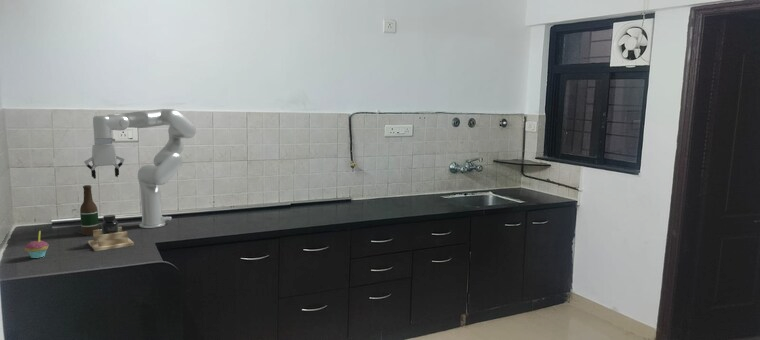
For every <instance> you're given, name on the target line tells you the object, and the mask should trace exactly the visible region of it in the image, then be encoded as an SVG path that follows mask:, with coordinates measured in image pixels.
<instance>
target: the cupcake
mask: <svg viewBox="0 0 760 340" xmlns="http://www.w3.org/2000/svg"><path fill="white" fill-rule="evenodd" d="M41 234H42V233H41V230H39V231H38V238H37V240H34V241H33V240H32V241H29V242H28V243H27V244H25V246H24V251H25V252H27V253H28V254H29V256H30V258H39V257H43V256H44V257H46V252H47V250H48V249H49V246H50V245H49V243H48V242H46V241H44V240H41ZM44 257H43V258H44Z"/></svg>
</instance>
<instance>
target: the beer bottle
mask: <svg viewBox="0 0 760 340" xmlns="http://www.w3.org/2000/svg"><path fill="white" fill-rule="evenodd" d="M82 188H83V201H82V203H81V205H80V209H79V210H80V211H79V214H80V216H79V217H80V227H81V229H80V230H81V234H82V236H84V235H86V236H87V237H89V236H93V230H100V224H99V212H98V211H99V210H98V207H97V205H96V203H95V202H94V199H93V193H92V185H90V184H88V185H87V184H86V185H83V186H82Z"/></svg>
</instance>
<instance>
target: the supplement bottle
mask: <svg viewBox="0 0 760 340" xmlns="http://www.w3.org/2000/svg"><path fill="white" fill-rule="evenodd" d="M102 219H103V222H101V229H102V235H104V234H111V233H118V232H119V228H118V227H119V222H118V221H117V220H116V215H115V214H106V215H103V216H102Z"/></svg>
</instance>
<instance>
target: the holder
mask: <svg viewBox="0 0 760 340" xmlns="http://www.w3.org/2000/svg"><path fill="white" fill-rule="evenodd" d="M118 228H119V232H118V233H111V234H104V235H102V228H101V229H100V228H99V230H93V235H92V236H93V240H88V245H89V246H90V248H91V249H93V251H94V252H99V251H105V250H111V249H118V248H127V247H132V246H135V243H134V241H133V240H131V239H130V238H129V235H128V234H129V233H128V232H129V231H123V227H122V226H118Z"/></svg>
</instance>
